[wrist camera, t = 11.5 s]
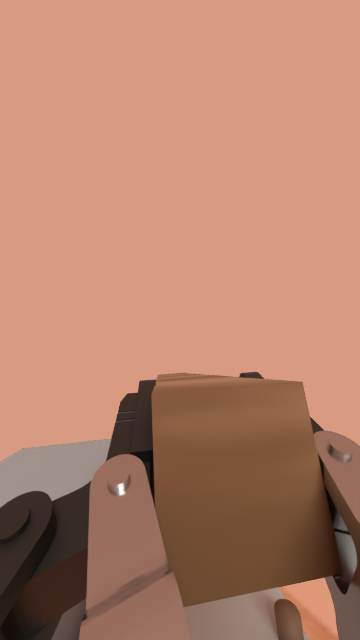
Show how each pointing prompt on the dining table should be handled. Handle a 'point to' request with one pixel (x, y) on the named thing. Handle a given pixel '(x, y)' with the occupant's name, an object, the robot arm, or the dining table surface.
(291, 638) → the stand
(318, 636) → the dining table surface
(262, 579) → the batten
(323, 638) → the dining table surface
